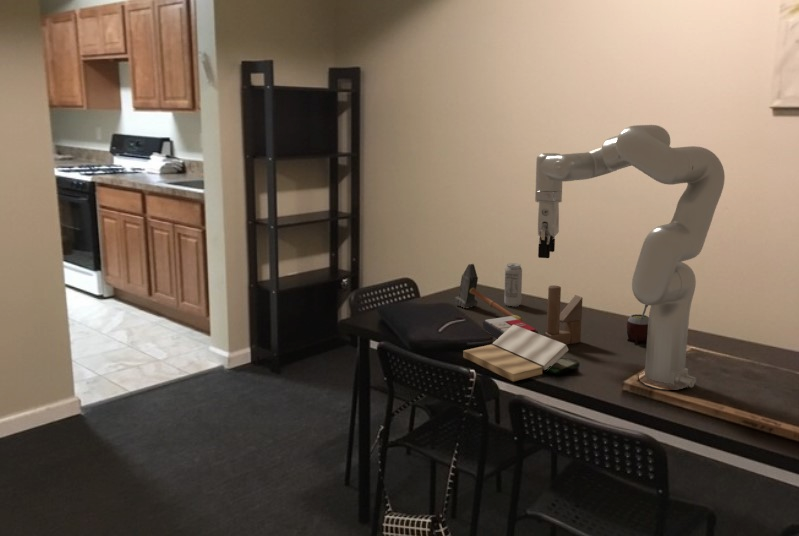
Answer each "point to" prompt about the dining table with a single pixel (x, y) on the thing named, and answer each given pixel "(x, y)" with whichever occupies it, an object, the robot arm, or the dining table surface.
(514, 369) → the oak board
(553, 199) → the robot arm
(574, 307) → the wooden block
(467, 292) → the hammer
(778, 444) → the dining table surface
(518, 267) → the energy drink can
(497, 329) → the calculator
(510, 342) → the ash plank
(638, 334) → the mate gourd
